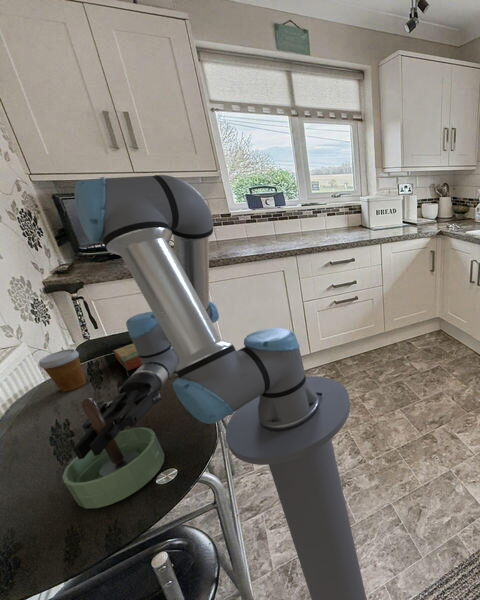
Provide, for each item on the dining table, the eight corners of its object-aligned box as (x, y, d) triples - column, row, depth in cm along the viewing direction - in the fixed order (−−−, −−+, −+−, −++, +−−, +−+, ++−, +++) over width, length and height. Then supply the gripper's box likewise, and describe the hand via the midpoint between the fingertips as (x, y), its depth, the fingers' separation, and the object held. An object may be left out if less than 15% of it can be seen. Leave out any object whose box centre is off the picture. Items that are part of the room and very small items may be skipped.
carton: (141, 350, 133) (137, 341, 131) (154, 360, 123) (150, 350, 122) (116, 359, 127) (111, 350, 125) (127, 371, 117) (123, 361, 116)
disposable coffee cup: (59, 397, 105) (41, 365, 101) (51, 390, 110) (33, 359, 106) (96, 381, 113) (81, 351, 108) (87, 375, 118) (72, 346, 113)
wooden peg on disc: (143, 451, 77) (110, 384, 70) (140, 471, 71) (104, 400, 65) (105, 467, 73) (67, 397, 67) (100, 489, 68) (57, 415, 61)
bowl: (166, 440, 81) (155, 418, 79) (164, 482, 69) (152, 457, 67) (87, 472, 74) (73, 449, 72) (69, 526, 62) (52, 499, 59)
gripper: (180, 389, 88) (136, 456, 66) (118, 402, 85) (50, 476, 63) (171, 366, 85) (121, 427, 64) (106, 378, 82) (31, 447, 61)
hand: (86, 451), depth 64 cm, fingers closed on wooden peg on disc, 2 cm apart
